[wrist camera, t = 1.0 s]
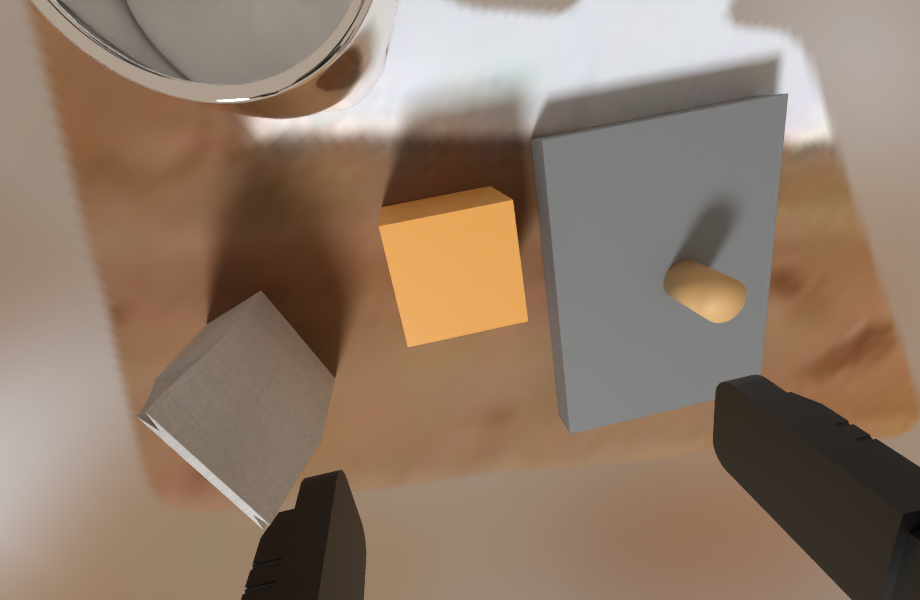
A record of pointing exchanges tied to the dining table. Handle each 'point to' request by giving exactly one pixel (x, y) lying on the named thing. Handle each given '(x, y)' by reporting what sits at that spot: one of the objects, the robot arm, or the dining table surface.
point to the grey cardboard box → (244, 405)
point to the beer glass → (237, 49)
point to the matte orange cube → (454, 264)
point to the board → (658, 255)
